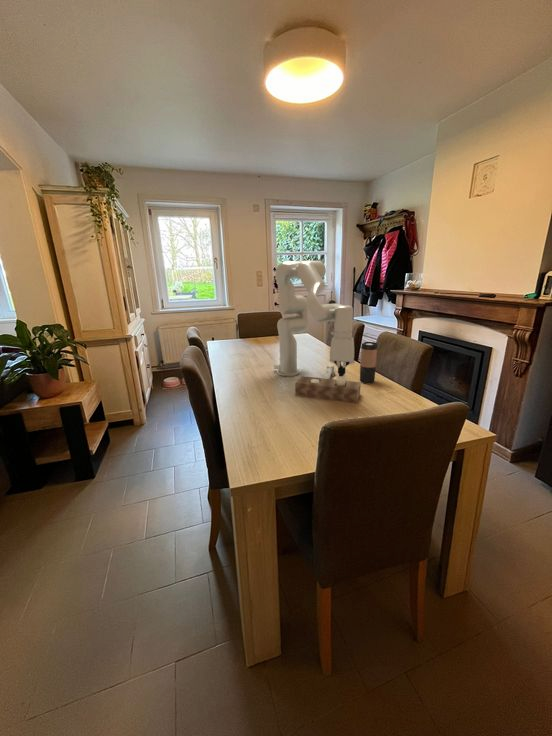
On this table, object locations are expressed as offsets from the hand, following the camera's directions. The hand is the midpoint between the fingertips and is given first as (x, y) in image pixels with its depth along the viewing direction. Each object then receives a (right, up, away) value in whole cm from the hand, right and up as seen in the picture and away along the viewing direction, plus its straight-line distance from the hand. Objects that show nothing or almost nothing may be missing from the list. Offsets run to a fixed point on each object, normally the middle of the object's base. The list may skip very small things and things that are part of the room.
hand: (341, 375), depth 136 cm
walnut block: (-5, -9, +5) cm, 12 cm away
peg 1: (-11, -8, +7) cm, 15 cm away
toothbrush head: (-2, -4, +24) cm, 24 cm away
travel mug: (+18, -4, +21) cm, 28 cm away
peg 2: (0, -5, +2) cm, 6 cm away
